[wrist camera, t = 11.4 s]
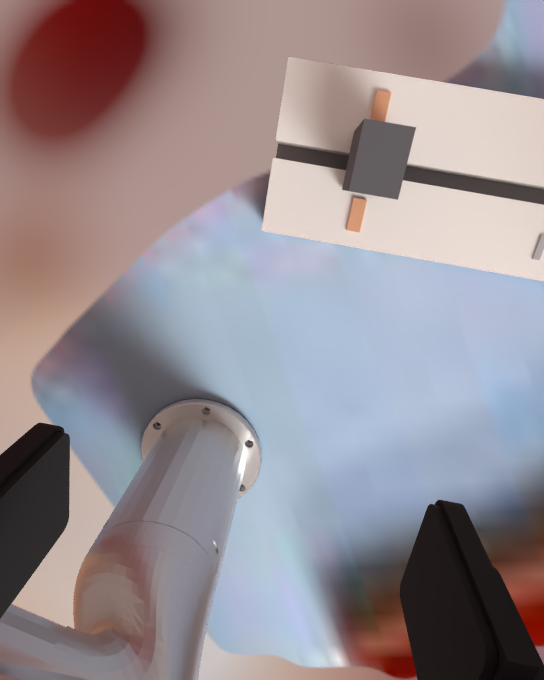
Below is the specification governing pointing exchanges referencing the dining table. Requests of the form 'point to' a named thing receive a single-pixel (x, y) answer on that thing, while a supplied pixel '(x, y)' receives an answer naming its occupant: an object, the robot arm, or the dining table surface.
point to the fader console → (412, 169)
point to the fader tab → (378, 158)
